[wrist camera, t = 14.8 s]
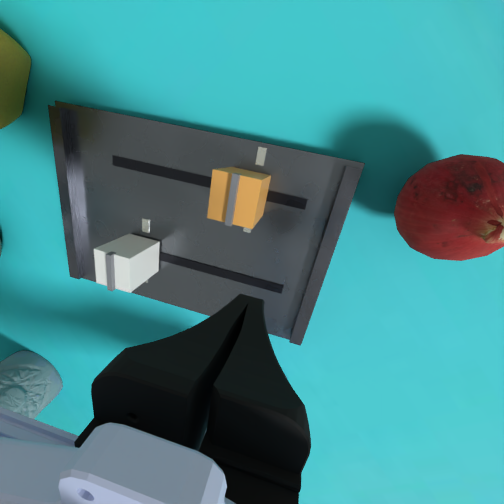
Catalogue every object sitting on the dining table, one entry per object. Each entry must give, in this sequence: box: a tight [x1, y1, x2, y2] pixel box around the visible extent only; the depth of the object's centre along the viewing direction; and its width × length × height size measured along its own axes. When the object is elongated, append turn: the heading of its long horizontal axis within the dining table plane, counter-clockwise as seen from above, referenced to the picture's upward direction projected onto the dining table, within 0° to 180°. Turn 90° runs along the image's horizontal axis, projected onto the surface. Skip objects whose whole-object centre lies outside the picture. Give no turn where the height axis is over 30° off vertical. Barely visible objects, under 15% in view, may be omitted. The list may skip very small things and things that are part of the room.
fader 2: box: [207, 167, 271, 229], centre depth 16 cm, size 3×3×4 cm
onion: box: [394, 154, 504, 261], centre depth 14 cm, size 6×6×8 cm
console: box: [48, 101, 365, 345], centre depth 21 cm, size 16×24×2 cm, turn 79°
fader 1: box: [94, 234, 160, 293], centre depth 20 cm, size 3×3×4 cm
